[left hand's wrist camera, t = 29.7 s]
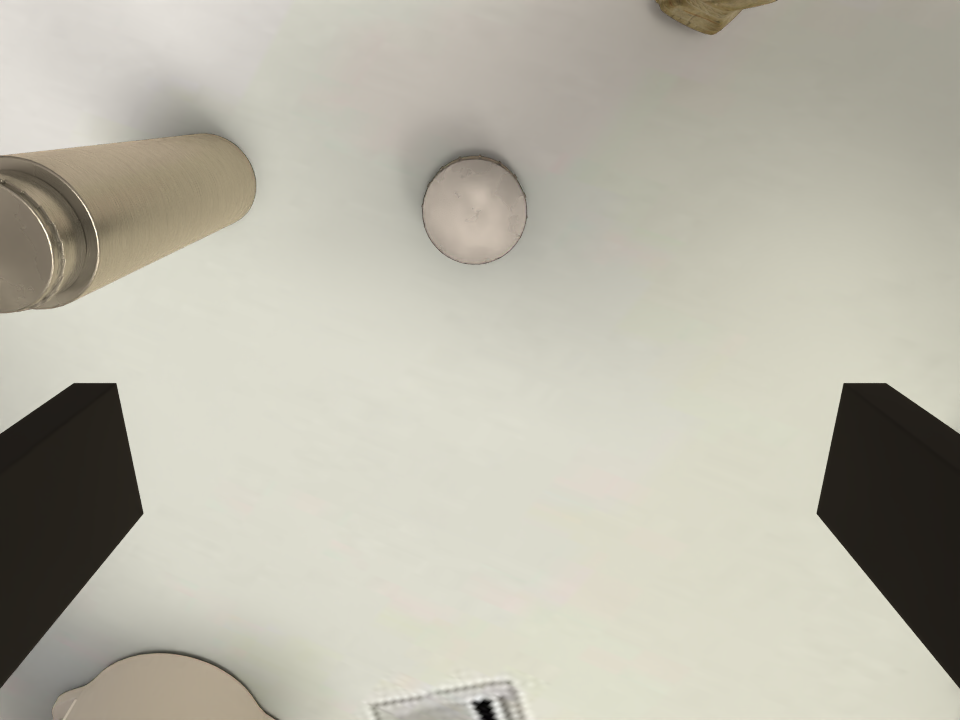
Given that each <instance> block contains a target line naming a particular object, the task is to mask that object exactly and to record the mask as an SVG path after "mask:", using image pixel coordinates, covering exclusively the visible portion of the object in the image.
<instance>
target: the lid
mask: <svg viewBox="0 0 960 720" xmlns="http://www.w3.org/2000/svg"><path fill="white" fill-rule="evenodd" d="M427 187H428V189H427V191H426V194H425V196H424V201H423V204H422V207H423V208H422V214H423V222H424V228H425V229H426V232H427V234H428V236H429V238H430V240H431V241H432V243H433V244H434V245H435V246H436V248H437V249H438V250H439V251H441V252H442V253H443V254H444V255H446V256H447V257H449V258H451V259H453V260H455V261H458V262H461V263H465V264H484V263H489V262H492V261H494V260H497V259H499V258H501V257H502V256H504V255H505V254H506V253H508V252H509V251H510V250H511V249H512V248H513V247H514V246H515V245H516V243H517V242H518V240H519V239H520V238H521V235H522V233H523V230H524V227H525V224H526V218H527V206H526V200H525V198H526V195H525V193H524V192H523V191H522V188H521V186H520V184H519V182H518V181H517V177H516V175H515V174H514V175H513V173H512V172H511V171H510V170H509V169H508V168H507V167H505V166H504V165H503V164H501V162H500V161H499V162H498V161H496V160H493V159H491V158H487V157H483V156H481V155H479V156H467V157H462V158H461V157H459V158H458V159H456V160H454V161H452V162H450V163H449V164H447V165H445V166H444V167H443V166H442V167H441V168H440V171H439V172H438V173H437V174H436V175H435V177H434V178H433V180H432V181H431V182H429V184H428V185H427Z"/></svg>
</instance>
